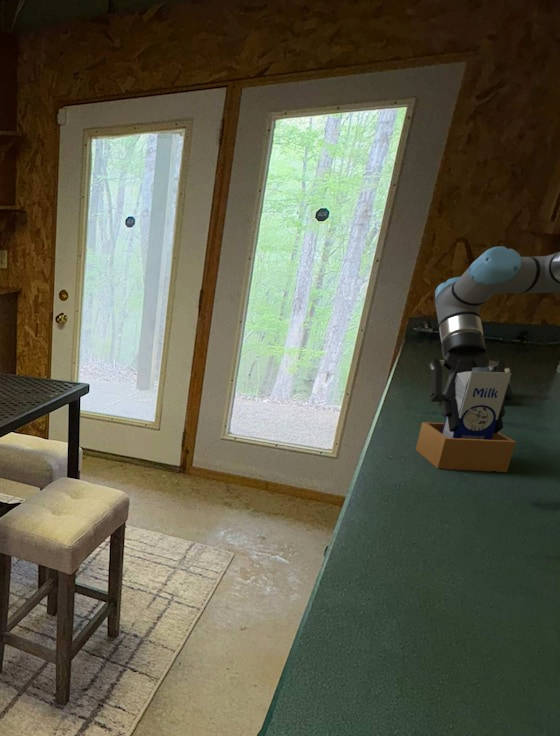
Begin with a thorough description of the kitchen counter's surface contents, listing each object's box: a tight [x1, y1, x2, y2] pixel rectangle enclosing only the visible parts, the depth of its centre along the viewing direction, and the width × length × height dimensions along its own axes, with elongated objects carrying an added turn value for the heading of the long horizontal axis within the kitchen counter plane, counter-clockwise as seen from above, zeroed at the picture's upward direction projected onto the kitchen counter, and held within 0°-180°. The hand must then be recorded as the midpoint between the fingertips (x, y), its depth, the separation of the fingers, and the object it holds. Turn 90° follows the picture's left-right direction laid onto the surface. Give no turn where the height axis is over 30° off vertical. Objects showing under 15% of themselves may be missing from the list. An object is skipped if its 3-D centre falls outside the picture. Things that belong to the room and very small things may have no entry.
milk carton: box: [442, 366, 512, 440], centre depth 135 cm, size 7×7×20 cm
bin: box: [415, 421, 517, 473], centre depth 138 cm, size 13×13×7 cm
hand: (476, 429), depth 133 cm, fingers closed on milk carton, 7 cm apart
